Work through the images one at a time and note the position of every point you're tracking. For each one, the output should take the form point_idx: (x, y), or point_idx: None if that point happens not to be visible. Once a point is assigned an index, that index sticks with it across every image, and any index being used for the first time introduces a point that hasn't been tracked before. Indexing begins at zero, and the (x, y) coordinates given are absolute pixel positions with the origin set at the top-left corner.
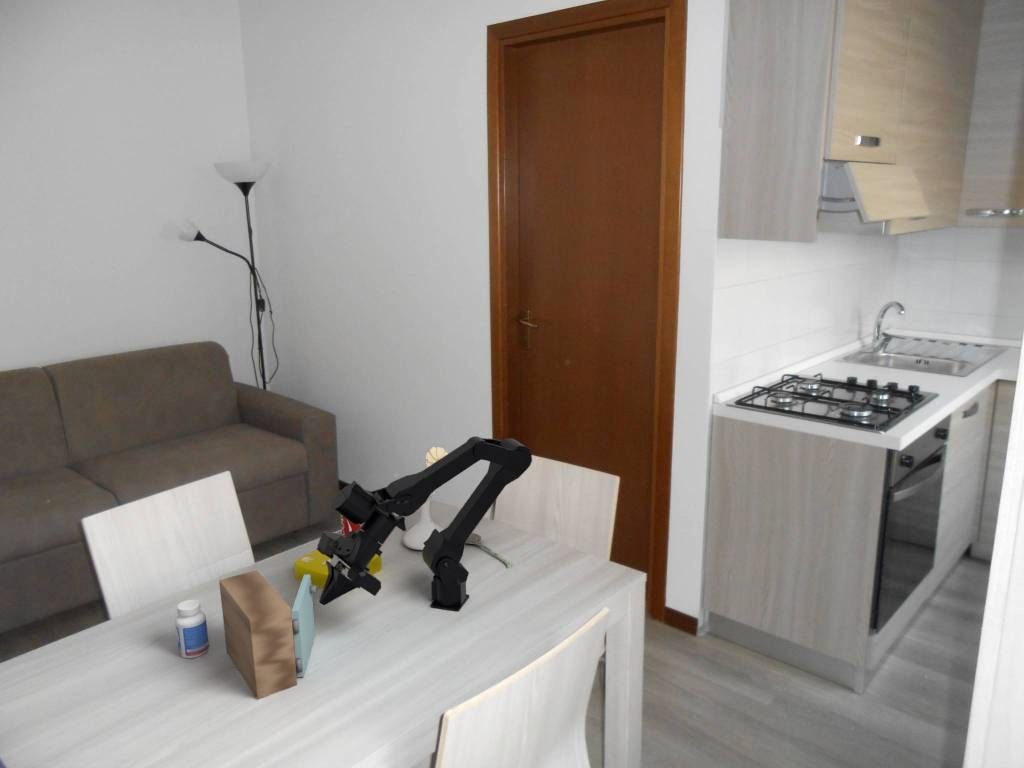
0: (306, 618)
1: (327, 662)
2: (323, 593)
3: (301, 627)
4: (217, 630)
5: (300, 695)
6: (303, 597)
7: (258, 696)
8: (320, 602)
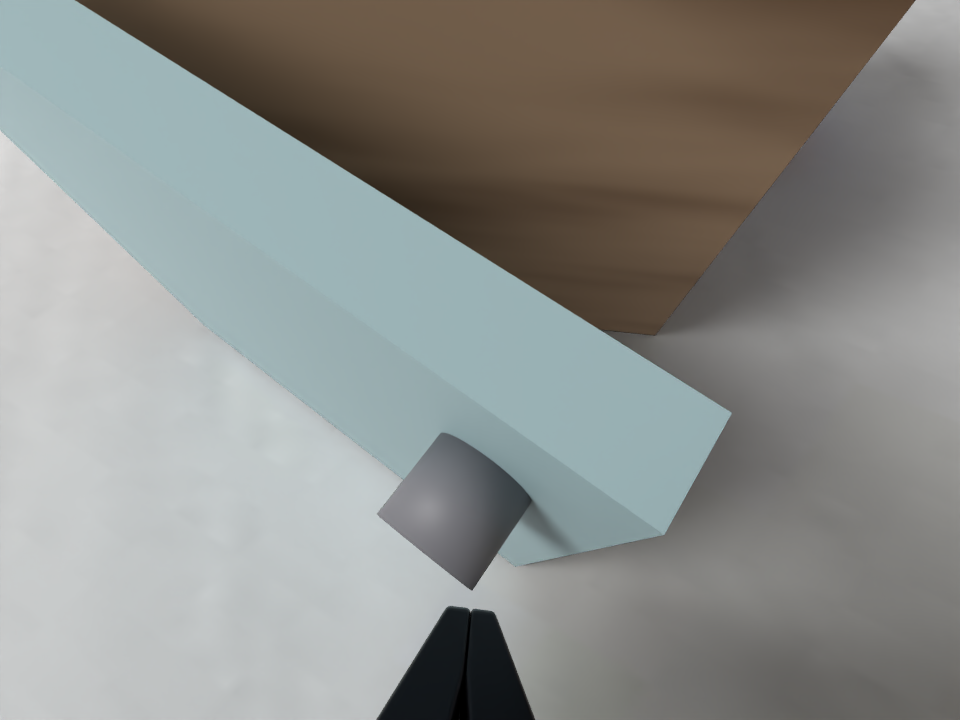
0: (247, 326)
1: (224, 481)
2: (479, 694)
3: (42, 162)
4: (875, 231)
5: (116, 263)
6: (8, 81)
7: None
8: (449, 607)
